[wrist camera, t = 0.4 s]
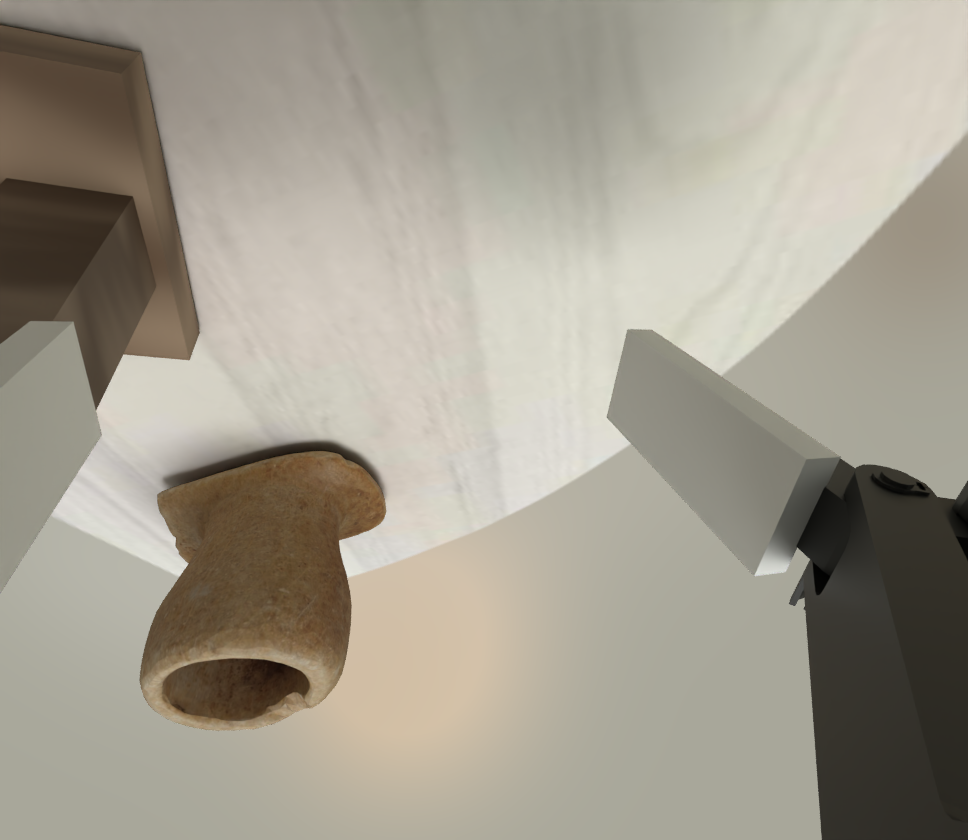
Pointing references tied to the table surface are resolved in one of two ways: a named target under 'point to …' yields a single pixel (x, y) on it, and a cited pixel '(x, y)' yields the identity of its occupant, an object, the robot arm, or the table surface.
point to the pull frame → (87, 204)
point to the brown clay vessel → (257, 591)
